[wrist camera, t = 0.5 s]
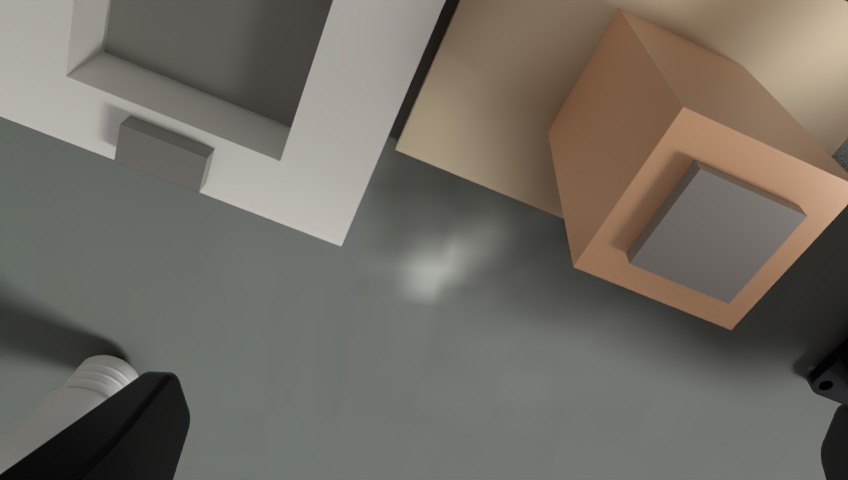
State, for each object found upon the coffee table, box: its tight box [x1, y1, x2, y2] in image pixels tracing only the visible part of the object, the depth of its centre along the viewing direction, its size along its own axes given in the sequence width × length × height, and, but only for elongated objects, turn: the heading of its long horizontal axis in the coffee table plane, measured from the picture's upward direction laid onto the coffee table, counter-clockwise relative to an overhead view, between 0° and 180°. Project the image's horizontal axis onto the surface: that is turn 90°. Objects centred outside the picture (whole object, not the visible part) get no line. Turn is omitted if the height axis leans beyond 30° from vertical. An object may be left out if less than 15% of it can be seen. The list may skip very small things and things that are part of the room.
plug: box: [548, 8, 848, 330], centre depth 16 cm, size 4×4×7 cm
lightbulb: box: [0, 355, 138, 474], centre depth 23 cm, size 6×6×11 cm
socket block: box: [0, 0, 446, 246], centre depth 18 cm, size 11×10×4 cm
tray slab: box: [395, 0, 848, 219], centre depth 20 cm, size 12×9×1 cm
